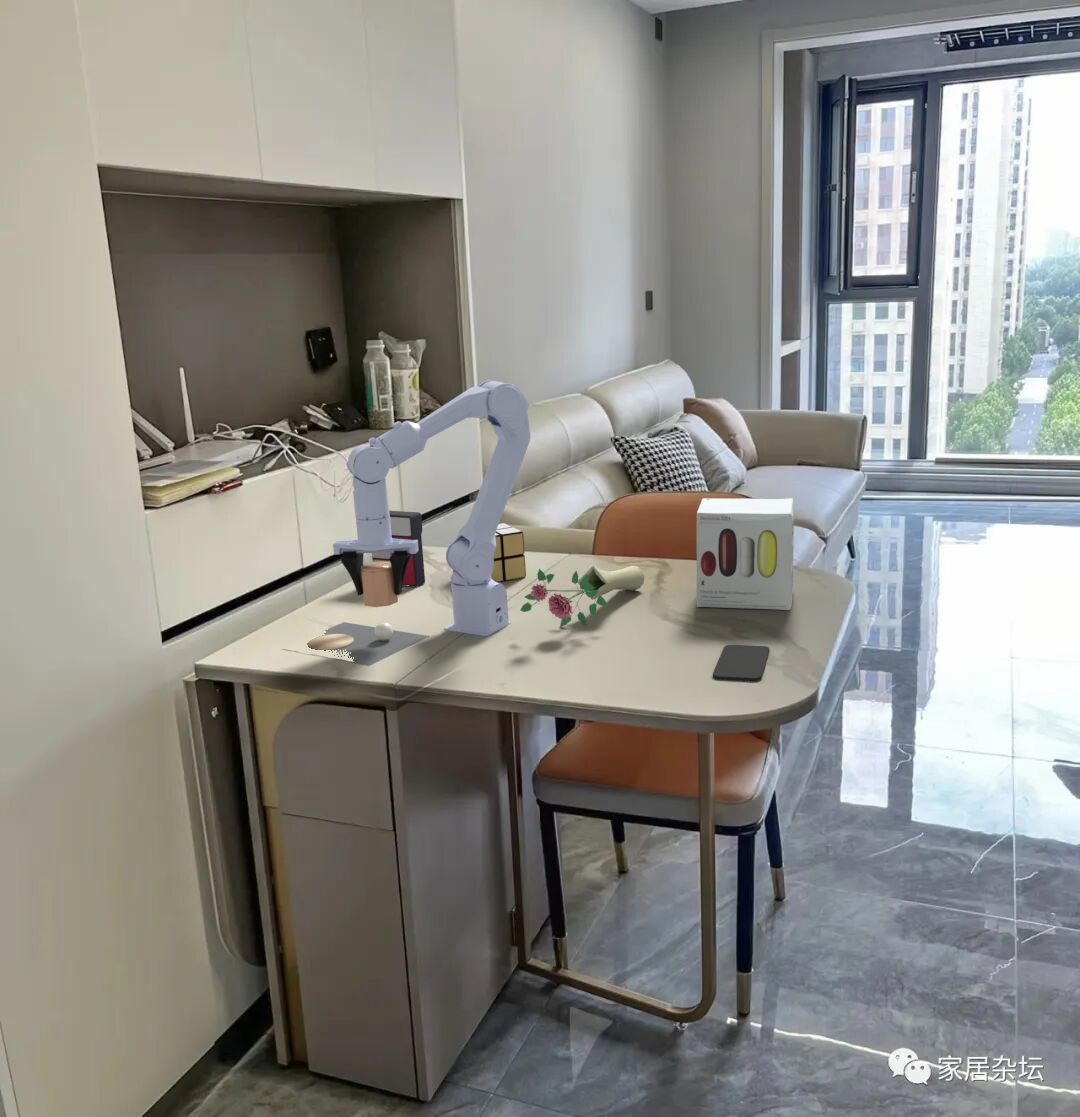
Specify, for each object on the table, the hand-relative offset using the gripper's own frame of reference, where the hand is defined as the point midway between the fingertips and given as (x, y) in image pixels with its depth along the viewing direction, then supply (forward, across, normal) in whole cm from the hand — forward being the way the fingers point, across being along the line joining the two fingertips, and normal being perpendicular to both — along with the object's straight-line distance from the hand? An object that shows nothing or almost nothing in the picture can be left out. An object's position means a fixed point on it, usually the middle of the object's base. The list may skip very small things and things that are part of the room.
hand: (380, 593), depth 185 cm
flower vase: (+9, -35, -16) cm, 40 cm away
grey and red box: (+9, +8, -37) cm, 39 cm away
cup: (+2, 0, 0) cm, 2 cm away
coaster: (+8, +9, +2) cm, 13 cm away
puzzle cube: (+9, -11, -42) cm, 44 cm away
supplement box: (+9, -62, -25) cm, 68 cm away
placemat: (+9, +5, +1) cm, 10 cm away
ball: (+7, 0, 0) cm, 7 cm away
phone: (+10, -61, +9) cm, 63 cm away
